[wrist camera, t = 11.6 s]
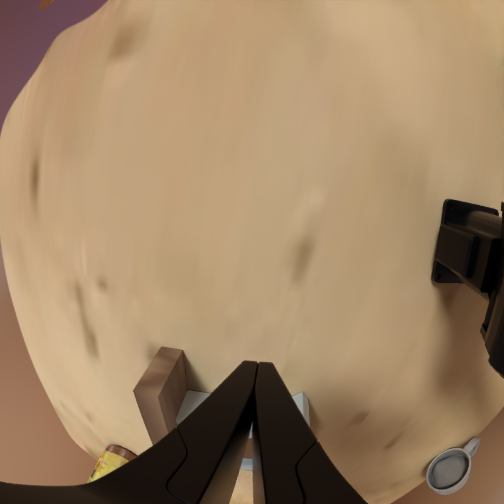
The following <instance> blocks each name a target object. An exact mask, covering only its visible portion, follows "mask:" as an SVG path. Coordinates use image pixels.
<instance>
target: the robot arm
mask: <svg viewBox="0 0 504 504" xmlns="http://www.w3.org/2000/svg"><path fill="white" fill-rule="evenodd" d="M449 203H450V204H451V207H450V208H449ZM501 211H502V217H499V213H498V210H496V209H493V208H489V207H485V206H480V205H476V204H471V203H467V202H462V201H457V200H452V199H446V200H445V201H444V204H443V213H442V221H441V226H440V231H439V237H438V243H437V249H436V254H435V262H434V267H433V271H432V279H433V280H434V281H435V282H437V283H465V284H466V285H467V286H469V287H470V288H472V289H473V290H474V291H476V292H477V293H478V294H480V295H481V296H482V297H483V298H485V299H486V300H487V301H489V305H488V309H487V313H486V317H485V320H484V323H483V324H482V326H481V330H480V332H481V334H482V337H483V339H484V341H485V346H486V349H487V351H488V354H489V356H490V357H489V359H488V361H489V363H490V365H491V366H492V367H493V369H494V370H495V371H496V372H497V373H499V375H500V376H501V377H503V378H504V202H501ZM438 274H439V276H438V277H437V278H436V276H437V275H438ZM251 427H252V468H253V503H254V504H368V503H367V502H366V501H365V500H364V499H363V498H362V497H361V496H360V495H359V494H358V493H357V492H356V490H355V489H354V488H353V487H352V486H351V485H350V484H349V483H348V482H347V481H346V479H345V478H344V477H343V476H342V475H341V473H340V472H339V471H338V470H337V468H336V467H335V466H334V464H333V463H332V462H331V460H330V459H329V457H328V456H327V454H326V453H325V451H324V450H323V448H322V446H321V445H320V443H319V442H317V438H316V437H315V435H314V433H313V432H312V430H311V428H310V427H309V425H308V423H307V422H306V420H305V418H304V417H303V415H302V413H301V411H300V410H299V408H298V406H297V405H296V403H295V401H294V399H293V398H292V396H291V394H290V393H289V391H288V389H287V387H286V386H285V384H284V382H283V380H282V379H281V377H280V375H279V373H278V371H277V370H276V368H275V366H274V364H273V363H271V362H259V363H257V362H256V361H247V360H245V361H243V362H242V363H241V364H240V365H239V366H238V367H237V368H236V369H235V370H234V371H233V372H232V373H231V374H230V375H229V376H228V377H227V378H226V379H225V380H224V381H223V382H222V383H221V384H220V385H219V386H218V387H217V388H216V389H215V390H214V391H213V392H212V393H211V394H210V395H209V396H208V397H207V398H206V399H205V400H204V401H203V402H202V403H201V404H199V405H198V406H197V407H196V408H195V409H194V410H193V411H192V412H191V413H190V414H189V415H188V416H187V417H186V418H184V419H183V420H182V421H181V422H180V423H179V424H178V425H177V426H176V428H173V429H172V430H171V431H170V432H169V433H168V434H167V435H165V436H164V437H163V438H162V439H160V440H159V441H158V442H157V443H156V444H154V445H153V446H152V447H150V448H149V449H147V450H146V451H144V452H143V453H141V454H140V455H138V456H137V457H135V458H134V459H132V460H130V461H129V462H127V463H125V464H124V465H122V466H120V467H118V468H117V469H115V470H113V471H111V472H110V473H108V474H106V475H104V476H102V477H101V478H99V479H96V480H94V481H91V482H89V483H85V484H81V485H73V486H39V485H22V484H13V483H6V482H1V481H0V504H229V502H230V499H231V496H232V493H233V490H234V487H235V483H236V480H237V477H238V474H239V470H240V467H241V464H242V460H243V457H244V454H245V450H246V447H247V443H248V440H249V436H250V432H251Z"/></svg>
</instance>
